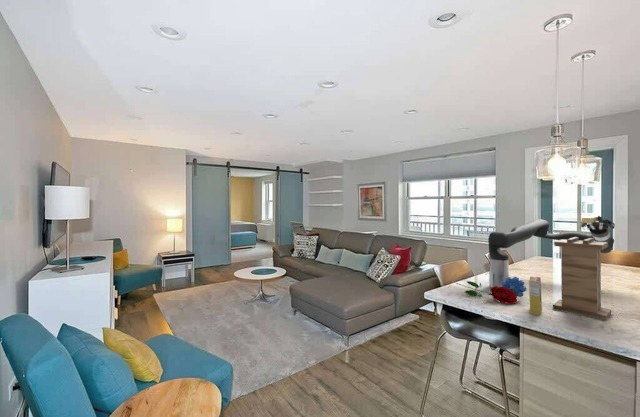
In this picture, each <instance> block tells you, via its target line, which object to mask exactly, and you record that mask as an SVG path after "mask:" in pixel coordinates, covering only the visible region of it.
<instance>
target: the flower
mask: <svg viewBox="0 0 640 417" xmlns="http://www.w3.org/2000/svg"><path fill="white" fill-rule="evenodd" d="M466 283H467V284H468V285H470V286H472V287H474V288H472V287H469V286H466V285H463V284H460V283H458V282H456V283H455V284H456V285H459V286H463V287H465V288H468V289H469V290H467V289H466V290H465V291H464V293H465V294H466V295H468V296H471V295H474V296H473V297H476V296H477V295H479V296H480V297H483V295H482V294H481V292H482V293H486V294H487V295H488V296H491V297H492V298H493V299H494V300H496V301H497V302H499V303H500V304H503V305H505V304H508V305H512V304H516V303H518V299H517V298H518V296H517V297H516V294H515V293H514V292H513V291H511V290H509V289H507V288H505V287H497V286H495V287H492V288H491V287H490V289H489V290H490V292H487V291H482V290H480V289H478V288H482V283H481V282H479V284H478V283H477V282H473V281H469V280H467V281H466ZM477 291H478V292H477Z"/></svg>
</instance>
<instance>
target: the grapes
mask: <svg viewBox="0 0 640 417" xmlns="http://www.w3.org/2000/svg"><path fill="white" fill-rule="evenodd" d="M501 285H502V286H503V287H505V288H507V289H509V290H511V291H513V292H514V293H515V294H516V297H517V298H522V297H523V296H524V293H525V292H526V291H527V287H526V286H525V281H524V280H522V279H520V278H519V276H513V277H510V276H509V277H507V278H506V281H503V282H502V283H501Z"/></svg>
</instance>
